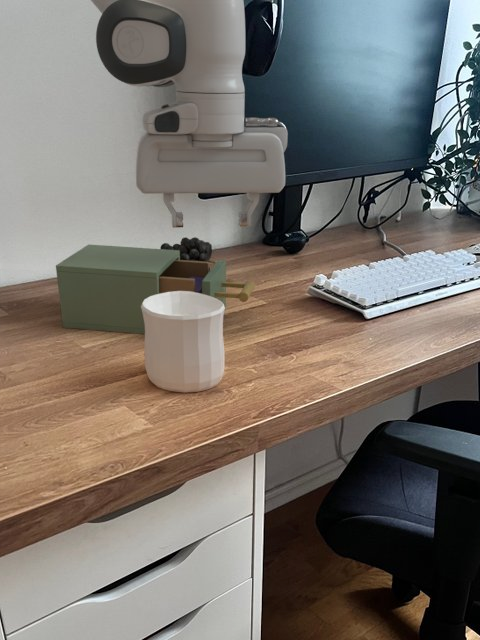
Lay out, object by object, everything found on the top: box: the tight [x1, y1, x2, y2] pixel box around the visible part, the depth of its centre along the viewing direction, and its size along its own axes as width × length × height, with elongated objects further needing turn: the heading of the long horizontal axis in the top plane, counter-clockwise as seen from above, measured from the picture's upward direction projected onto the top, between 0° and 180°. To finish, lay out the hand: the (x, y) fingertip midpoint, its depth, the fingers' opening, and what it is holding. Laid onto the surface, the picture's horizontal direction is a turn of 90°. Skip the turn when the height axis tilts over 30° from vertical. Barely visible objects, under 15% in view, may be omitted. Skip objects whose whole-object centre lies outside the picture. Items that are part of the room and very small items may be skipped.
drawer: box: [159, 259, 256, 308], centre depth 102 cm, size 18×11×7 cm, turn 81°
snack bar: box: [190, 277, 204, 294], centre depth 102 cm, size 7×4×3 cm
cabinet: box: [55, 243, 180, 335], centre depth 103 cm, size 15×13×9 cm
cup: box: [141, 291, 226, 394], centre depth 84 cm, size 10×10×10 cm
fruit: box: [159, 236, 216, 272], centre depth 117 cm, size 9×8×15 cm
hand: (211, 226), depth 96 cm, fingers open, 8 cm apart
